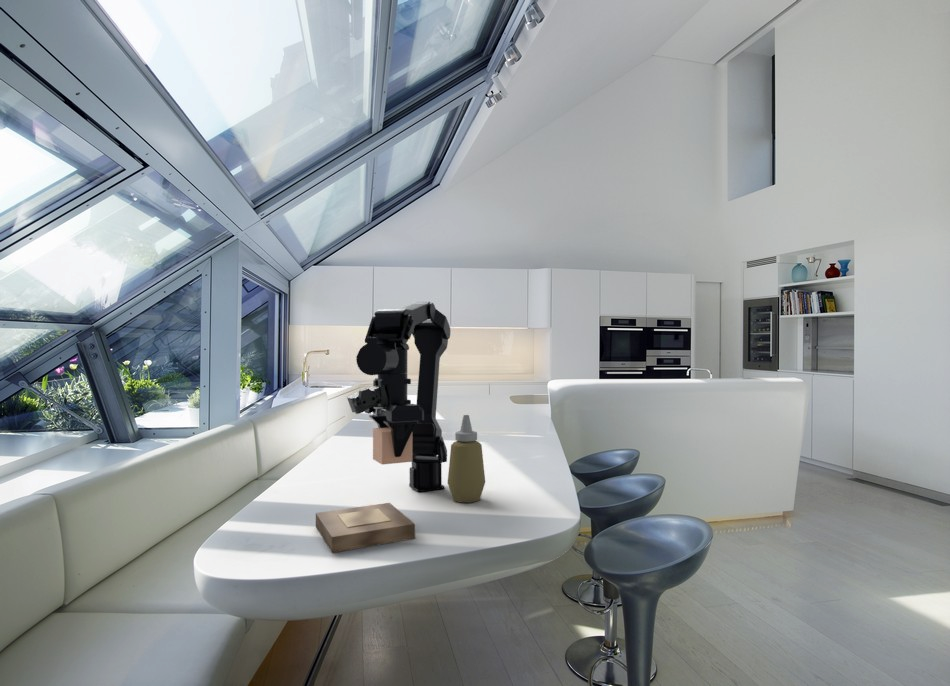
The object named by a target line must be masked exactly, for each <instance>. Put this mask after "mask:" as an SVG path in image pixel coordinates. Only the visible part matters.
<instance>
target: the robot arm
mask: <svg viewBox="0 0 950 686" xmlns="http://www.w3.org/2000/svg"><path fill="white" fill-rule="evenodd" d="M373 314H374V315H373V316H371V321H370V323H369V326H368V329H367V331H366V336H365V339H364V342H365V343H364V345H362V346H361V347H360V349H359V351H358V352H357V354H356V356H355V357H356V358H355V359H356V360H355V361H356V365H357V367H358V369H359V370H360V371H361V372H362V373H363V374H365V375H367V376H377V377H376V378H374V379H373V382H372V383H373V384H372V386H371V387H365V388H364V389H362V390H359V391H357V392H354V393H353V394H350V395H348V396H347V397H346V398H347V401H348V404H349V407H350V410H351V412H352V413H355V414H356V415H359V414H362V413H365V414H368V417H369V418H370V419H371V420H372V421H373V422H374V423H375V424H377V428H387V427H389V428H390V429H391V435H392V442H393V449H394V455H395V457H400V456H401V455H402V452H403V450H404V448H405V446H406V444H407V441H408V439H409V437H410V435H411V433H412V462H411V466H410V467H409V485H408V486H409V487H410V488H412V489H414V490H415V491H417V492H419V493H421V492H427V491H435V490H441V489H442V490H443V489H445V485H443V483H442V478H443V477H442V474H443V473H442V463H447V462H448V449H447V446H446V443H445V441H444V438H443V435H442V434H443V433H442V427H441V425H439V422H438V420H437V417H436V416H437V405H438V404H437V402H438V392H439V391H438V387H439V374H440V359H441V357H442V356H443V354H444V352H445V351H446V350H447V348H448V343H449V339H450V337H451V327H450V323H449V321H448V319H447V316H446V315H444V313H442V312H440V311H439V310H438V309H437V308H436V306H435V304H434V303H433V302H431V301H414V302H411V303H410V304H408V305H406V306H404V307H401V308H391V309H390V308H388V309H384V308H383V309H382V308H381V309H377V310H375V312H374V313H373ZM411 336H413V340H414V342H413V343H414V345H415V347H416V349H417V351H418V353H419V356H420V357H419V366H418V367H419V368H418V379H417V380H418V381H417V393H416V403H412V401H411V399H408V385H411V383H412V379H411V378H408V351H409V350H410V346H409V344H408V341H409V340H411ZM369 414H370V415H369Z"/></svg>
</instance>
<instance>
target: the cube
mask: <svg viewBox="0 0 950 686" xmlns="http://www.w3.org/2000/svg"><path fill="white" fill-rule="evenodd" d="M372 460H373V461H376V462H377V463H379V464H381V465H383V466H384V465H391V464H402V463H404V464H405V463H412V433H411V435H410V437H409V439H408V441H407V444H406V446H405V448H404V450H403V452H402V455H401V456H400V457H395V455H394V449H393V442H392V435H391V429H390V428H389V427H387V428H378V427H376V428H375V427H374V428H372Z"/></svg>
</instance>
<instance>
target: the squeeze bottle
mask: <svg viewBox="0 0 950 686" xmlns="http://www.w3.org/2000/svg"><path fill="white" fill-rule="evenodd" d="M454 437H455V438H454V439H455V441H454V442H453V443H452V444H451V445H450V455H449V462H448V463H449V465H448V474H447V485H448V489H449V491H450V495H451V497H452V500H453V501H455V502H459V503H465V502H466V503H474V502H478V501H480V499H481V498H482V494H483V491H484V488H485V484H486V476H485V466H484V457H483V455H484V454H483V448H482V443H480V441H477V440H478V432H477V431H474V430H473V428H472V423H471V419H470V415H469V414H463V416H462V420H461V425H460V430H459V431H455V436H454Z"/></svg>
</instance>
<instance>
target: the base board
mask: <svg viewBox="0 0 950 686" xmlns="http://www.w3.org/2000/svg"><path fill="white" fill-rule="evenodd" d="M315 529H317V532H318V533H319V534H320V536H321V538H322V540H324V542H325V544H326V545H327V547H328V548H329V550H330V552H331V554H332V553H340V552H345V551H349V550H350V551H351V550H356V549H357V550H358V549H361V548H367V547H373V545H374V546H378V544H380V545H385V544H384V543H386V544H391V543H395V542H402V541H407V540H414V539H416V525H415V522H413V521H412V520H411V519H410V518H409V517H408V516H407V515H405V514H404V513H403V512H401V511H400V510H399V509H398V508H397V507H396V506H395V505H393V504H392V503H391V502H385V503H378V504H370V505H363V506H356V507H348V508H343V509H342V508H341V509H333V510H327V511H321V512H315ZM390 542H391V543H390Z"/></svg>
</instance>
